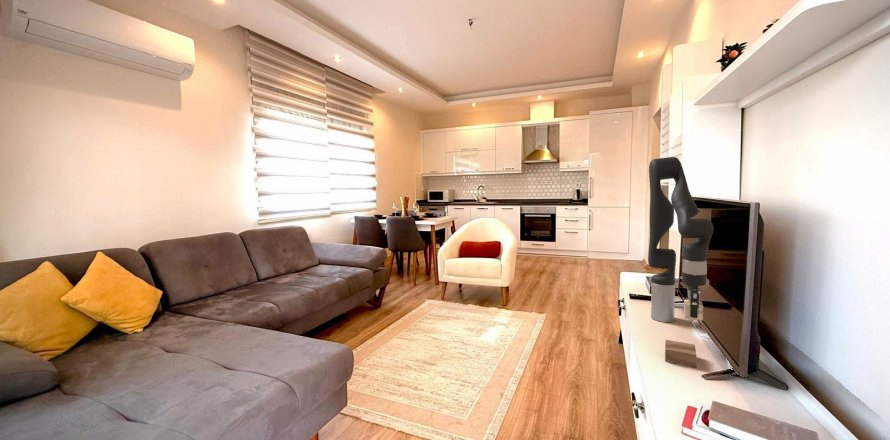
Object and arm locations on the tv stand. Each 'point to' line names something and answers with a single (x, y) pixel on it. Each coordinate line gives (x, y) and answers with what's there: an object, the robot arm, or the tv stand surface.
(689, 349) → the walnut base block
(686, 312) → the birch cube
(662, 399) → the tv stand surface
